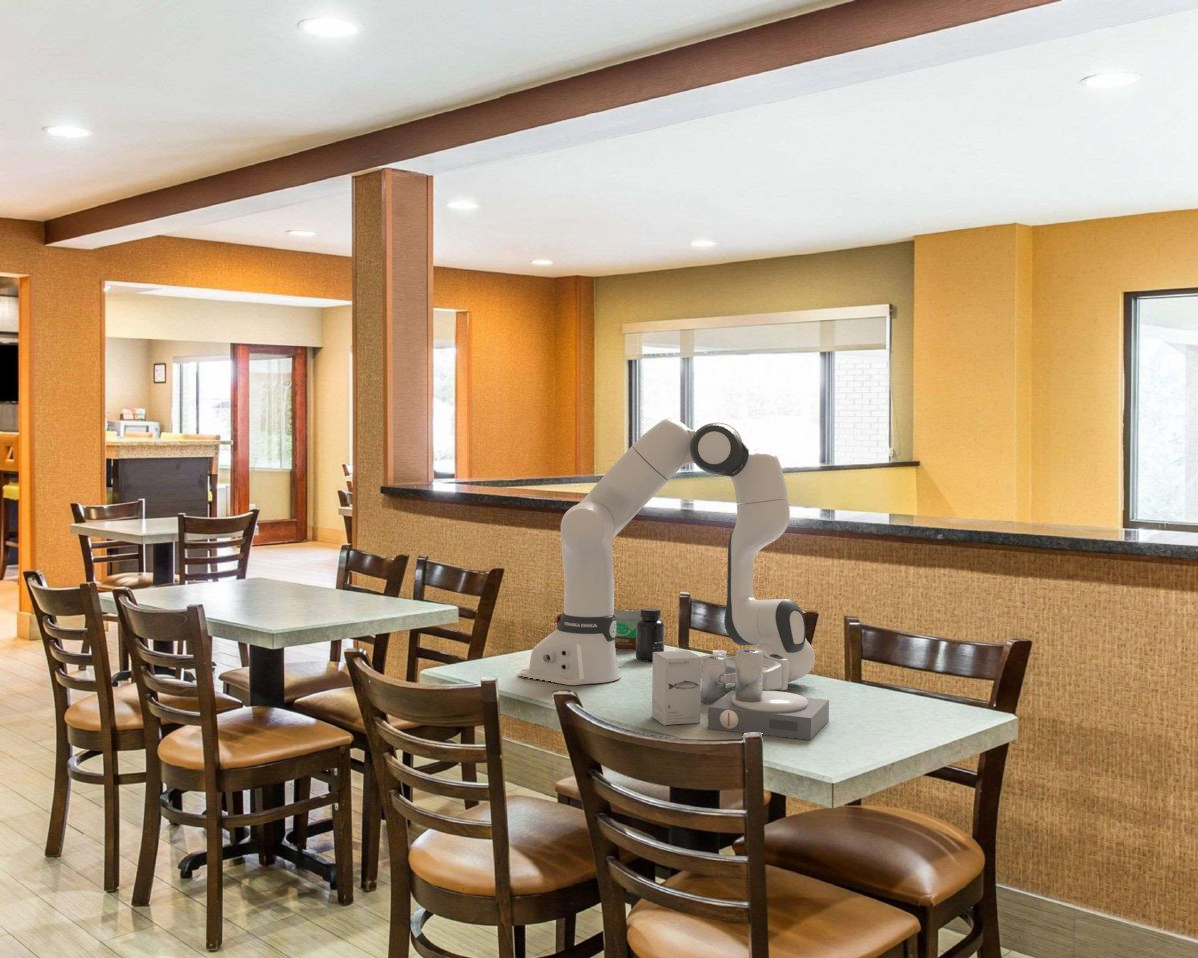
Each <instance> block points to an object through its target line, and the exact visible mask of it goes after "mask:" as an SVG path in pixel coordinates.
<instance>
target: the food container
mask: <svg viewBox="0 0 1198 958" xmlns="http://www.w3.org/2000/svg"><path fill="white" fill-rule="evenodd" d="M614 613H615V614H616V638H615V650H622V651H636V624H637V622H638V621H639V620H641V617H640V615H641V610H635V609H615V608H614Z"/></svg>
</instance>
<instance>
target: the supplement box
mask: <svg viewBox="0 0 1198 958" xmlns="http://www.w3.org/2000/svg"><path fill="white" fill-rule="evenodd" d="M700 656H701V655H698V654H696V653H694V652H691V651H690V650H673V651H672V650H671V651H664V652H653V661H652V678H651V679H652V681H651V682H652V684H651V685H652V688H651V690H652V691H651V700H652V701H651V703H652V704H651V716H652V718H653V719H655V720H656V721H658V722H659V723H660V724H661V725H663V726H664V727H665V726H668V725H686V724H700V723H701V707H702V706H701V703H702V702H701V657H700Z"/></svg>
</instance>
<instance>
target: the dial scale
mask: <svg viewBox="0 0 1198 958" xmlns="http://www.w3.org/2000/svg"><path fill="white" fill-rule="evenodd" d="M707 711H708V712H707V714H708V715H707V716H708V717H707V729H709V730H715V731H716V730H717V731H718V730H719V731H723V732H724V731H726V732H732V733H733V732H734V733H742V734H745V733H744V732H761V733H763V735H762V736H768V735H772V736H771V737H776V736H780V737H779V738H785V737H789V738H788V739H794V738H797V739H796V740H802V739H805V740H804V741H812V740H813V739H814V738H815V737H816V735H818V734H819V732H820V731H821V730H822V729H823V728H824V726H826V724H827V723H829V719H830V717H829V715H830V700H829V699H821V698H813V697H804V696H802V695H800V694H797V693H792V692H787V691H781V690H778V691H777V690H763V697H762V701H760V702H741V701H737V700H736V699H735V689H731V690H730V691H729V692H726V695H725V696H723V697H722V698H720V699H719V700H718V701H716V702H715V703H713V704H712V705H711V704H709V706H708V709H707ZM811 739H812V740H811Z"/></svg>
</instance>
